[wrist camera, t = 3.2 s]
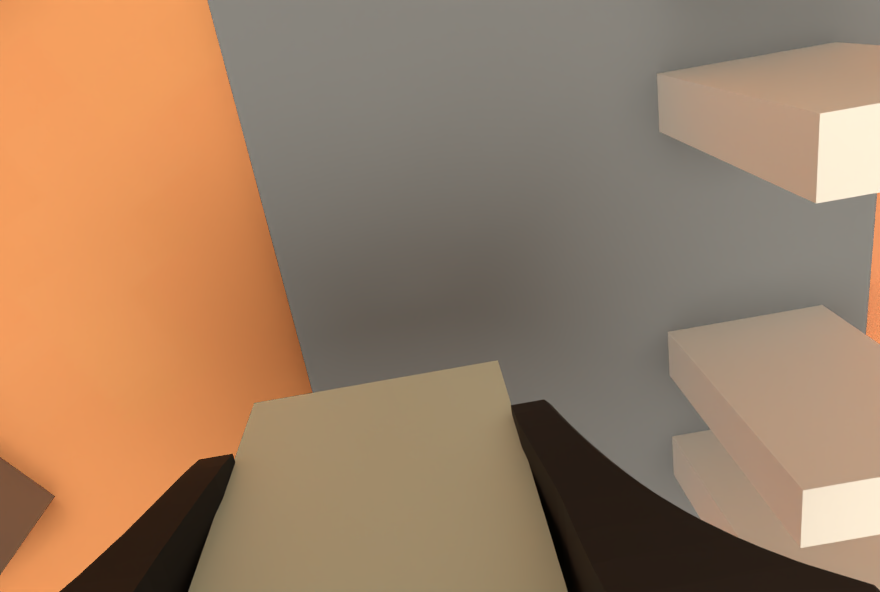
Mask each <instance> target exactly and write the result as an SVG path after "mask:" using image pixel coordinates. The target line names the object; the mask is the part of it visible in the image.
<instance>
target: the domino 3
mask: <svg viewBox="0 0 880 592" xmlns="http://www.w3.org/2000/svg"><path fill="white" fill-rule="evenodd" d="M672 445H673V469H674V476H675V478H676V479H677V481H678V482H679V484H680V486H681V487H682V489H683V491H684V492H685V494H686V496H687V497H688V499H689V501H690V502H691V504H692V506H693V507H694V509H695V511H696V512H697V514H698V516H699V517H700V519H701V520H703V521H705V522H707V523H709V524H711V525H713V526H715V527H717V528H719V529H721V530H723V531H725V532H728V533H730V534H732V535H734V536H736V537H738V538H741V539H743V540H745V541H748V542H750V543H752V544H755V545H757V546H759V547H762V548H764V549H767V550H770V551H772V552H775V553H777V554H780V555H783V556H785V557H788V558H791V559H793V560H796V561H799V562H801V563H804V564H807V565H811V566H814V567H817V568H820V569H824V570H827V571H830V572H834V573H837V574H840V575H843V576H847V577H850V578H853V579H857V580H860V581H863V582H866V583H870V584H873V585H875V586H876V587H877V588H878V589H879V590H880V534H879V535H873V536H868V537H862V538H856V539H850V540H845V541H839V542H833V543H827V544H822V545H816V546H810V547H804V548H800V547H799V546H798V544H797V543H796V542H795V540H794V539H793V538H792V536H791V535H790V534H789V532H788V531H787V530H786V528H785V527H784V526H783V525H782V523H781V522H780V521H779V519H778V518H777V517H776V515H775V514H774V513H773V511H772V510H771V509H770V507H769V506H768V505H767V503H766V502H765V501H764V499H763V498H762V497H761V495H760V494H759V493H758V492H757V490H756V489H755V488H754V486H753V485H752V484H751V482H750V481H749V480H748V478H747V477H746V476H745V474H744V473H743V472H742V470H741V469H740V468H739V466H738V465H737V464H736V462H735V461H734V460H733V458H732V457H731V456H730V455H729V453H728V452H727V451H726V449H725V448H724V447H723V445H722V444H721V443H720V441H719V440H718V439H717V437H716V436H715V435H714V433H713V432H712V431H711V430H706V431H700V432H695V433H689V434H683V435H678V436H672Z"/></svg>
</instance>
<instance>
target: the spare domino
mask: <svg viewBox="0 0 880 592" xmlns="http://www.w3.org/2000/svg"><path fill="white" fill-rule="evenodd" d="M234 460H235V465H234V468H233V471H232V474H231V477H230V479H229V482H228V485H227V488H226V491H225V494H224V497H223V500H222V502H221V504H220V506H219V508H218V510H217V512H216V514H215V517H214V519H213V522H212V525H211V528H210V531H209V534H208V537H207V539H206V542H205V545H204V548H203V551H202V554H201V557H200V559H199V562H198V565H197V568H196V571H195V574H194V577H193V579H192V582H191V585H190V588H189V591H188V592H568V591H567V588H566V584H565V581H564V578H563V574H562V571H561V568H560V564H559V561H558V558H557V554H556V551H555V548H554V545H553V541H552V538H551V535H550V531H549V528H548V525H547V521H546V518H545V515H544V511H543V508H542V505H541V502H540V498H539V495H538V492H537V488H536V485H535V482H534V478H533V475H532V472H531V468H530V465H529V462H528V459H527V457H526V455H525V453H524V451H523V449H522V446H521V443H520V440H519V436H518V433H517V429H516V426H515V423H514V419H513V416H512V411H511V402H510V399H509V396H508V392H507V389H506V386H505V382H504V379H503V376H502V372H501V369H500V366H499V363H498V360H497V361H491V362H485V363H480V364H474V365H468V366H463V367H457V368H451V369H445V370H440V371H434V372H428V373H423V374H417V375H411V376H406V377H400V378H394V379H388V380H383V381H377V382H371V383H366V384H360V385H354V386H349V387H343V388H337V389H331V390H326V391H320V392H314V393H309V394H303V395H297V396H292V397H286V398H280V399H275V400H269V401H263V402H257V403H254V405H253V408H252V411H251V414H250V417H249V419H248V422H247V425H246V428H245V431H244V434H243V437H242V439H241V442H240V445H239V448H238V451H237V454H236V457H235V459H234Z"/></svg>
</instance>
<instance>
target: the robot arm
mask: <svg viewBox="0 0 880 592" xmlns="http://www.w3.org/2000/svg"><path fill="white" fill-rule="evenodd" d="M511 411H512V416H513V419H514V423H515V426H516V429H517V433H518V436H519V440H520V443H521V446H522V449H523V451H524V453H525V455H526V457H527V459H528V462H529V465H530V468H531V472H532V475H533V478H534V482H535V485H536V488H537V492H538V495H539V498H540V502H541V505H542V508H543V511H544V515H545V518H546V521H547V525H548V528H549V531H550V535H551V538H552V541H553V545H554V548H555V551H556V554H557V558H558V561H559V564H560V568H561V571H562V574H563V578H564V581H565V584H566V588H567V591H568V592H880V590H879V589H878V588H877V587H876V586H875V585H873V584H870V583H866V582H863V581H860V580H857V579H853V578H850V577H847V576H843V575H840V574H837V573H834V572H830V571H827V570H824V569H820V568H817V567H814V566H811V565H807V564H804V563H801V562H799V561H796V560H793V559H791V558H788V557H785V556H783V555H780V554H777V553H775V552H772V551H770V550H767V549H764V548H762V547H759V546H757V545H755V544H752V543H750V542H748V541H745V540H743V539H741V538H738V537H736V536H734V535H732V534H730V533H728V532H725V531H723V530H721V529H719V528H717V527H715V526H713V525H711V524H709V523H707V522H705V521H703V520H701V519H699V518H697V517H695V516H693V515H692V514H690V513H688V512H686V511H684V510H682V509H681V508H679V507H677V506H676V505H674V504H672V503H671V502H669V501H667V500H666V499H664V498H662V497H661V496H659V495H657V494H656V493H654V492H653V491H651V490H650V489H648V488H647V487H646V486H644V485H643V484H641V483H640V482H639V481H637V480H636V479H634V478H633V477H632V476H630V475H629V474H628V473H626V472H625V471H624V470H622V469H621V468H620V467H619V466H617V465H616V464H615V463H613V462H612V461H611V460H610V459H609V458H607V457H606V456H605V455H604V454H603V453H601V452H600V451H599V450H598V449H597V448H596V447H594V446H593V445H592V444H591V443H590V442H589V441H588V440H586V439H585V438H584V437H583V436H582V435H581V434H580V433H579V432H578V431H577V430H576V429H575V428H574V427H573V426H571V425H570V424H569V423H568V422H567V421H566V420H565V419H564V418H563V417H562V415H561V414H560V413H559V412H558V411H557V410H556V409H555V408H554V407H553V406H552V405H551V404H550V403H549V402H547V401H546V400H544V399H543V400H538V401H532V402H526V403H520V404H515V405H511ZM234 465H235V460H234V457H233V454H229V455H223V456H218V457H212V458H206V459H201V460H198V461H197V462H196V463H195V464H194V465H193V466H191V467H190V468H189V469H188V470H187V471H186V472H185V473H184V474H183V475H182V476H181V477H180V478H179V479H178V480H177V481H176V482H175V483H174V484H173V485H172V486H171V487H170V488H169V489H168V490H167V491H166V492H165V493H164V494H163V495H162V496H161V497H160V498H159V499H158V500H157V501H156V502H155V503H154V504H153V505H152V506H151V507H150V508H149V509H148V510H147V511H146V512H145V513H144V514H143V515H142V516H141V517H140V518H139V519H138V520H137V521H136V522H135V523H134V524H133V525H132V526H131V527H130V528H129V529H128V530H127V531H126V532H125V533H124V534H123V535H122V536H121V537H120V538H119V539H118V540H117V541H116V542H114V543H113V544H112V545H111V546H110V547H109V548H108V549H107V550H106V551H105V552H104V553H103V554H101V555H100V556H99V557H98V558H97V559H96V560H95V561H94V562H93V563H92V564H91V565H89V566H88V567H87V568H86V569H85V570H84V571H83V572H82V573H81V574H80V575H79V576H77V577H76V578H75V579H74V580H73V581H72V582H70V583H69V584H68V585H67V586H66V587H65V588H63V589H62V590H61V591H60V592H188V591H189V588H190V585H191V582H192V579H193V577H194V574H195V571H196V568H197V565H198V562H199V559H200V557H201V554H202V551H203V548H204V545H205V542H206V539H207V537H208V534H209V531H210V528H211V525H212V522H213V519H214V517H215V514H216V512H217V510H218V508H219V506H220V504H221V502H222V500H223V497H224V494H225V491H226V488H227V485H228V482H229V479H230V477H231V474H232V471H233V468H234Z"/></svg>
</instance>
